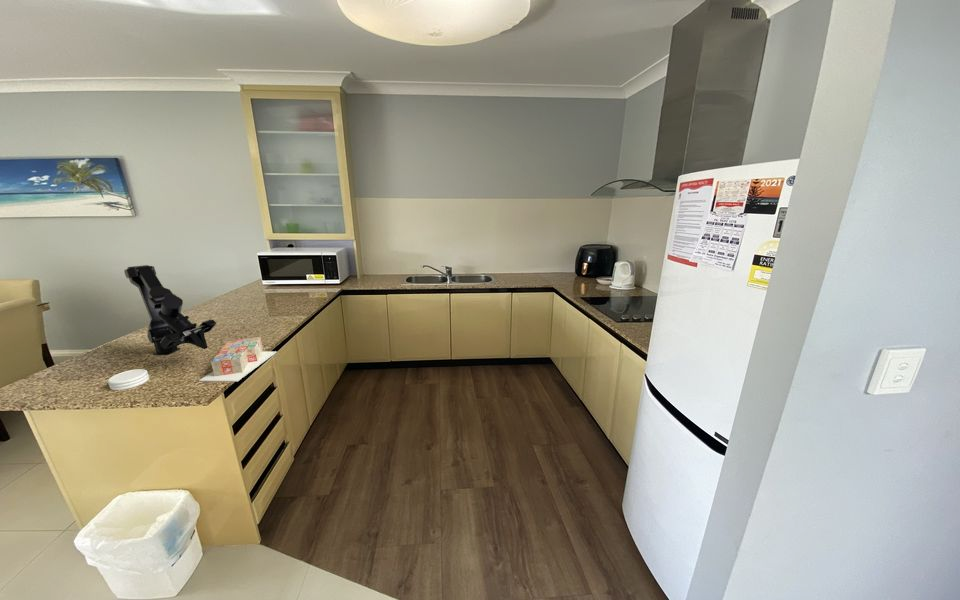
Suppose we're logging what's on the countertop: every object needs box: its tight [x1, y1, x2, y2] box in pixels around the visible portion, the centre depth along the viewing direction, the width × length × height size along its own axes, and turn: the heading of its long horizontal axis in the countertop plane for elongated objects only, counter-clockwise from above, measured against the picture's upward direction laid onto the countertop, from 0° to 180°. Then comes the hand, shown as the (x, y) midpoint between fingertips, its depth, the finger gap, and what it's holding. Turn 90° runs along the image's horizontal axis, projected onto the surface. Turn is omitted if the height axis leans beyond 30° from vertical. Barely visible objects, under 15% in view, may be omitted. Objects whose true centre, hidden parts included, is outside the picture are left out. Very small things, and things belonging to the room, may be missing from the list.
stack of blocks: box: [210, 336, 264, 376], centre depth 133 cm, size 21×6×12 cm
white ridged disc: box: [107, 368, 150, 391], centre depth 117 cm, size 10×10×4 cm
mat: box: [198, 350, 277, 383], centre depth 132 cm, size 14×25×1 cm, turn 1°
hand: (206, 348), depth 128 cm, fingers closed
